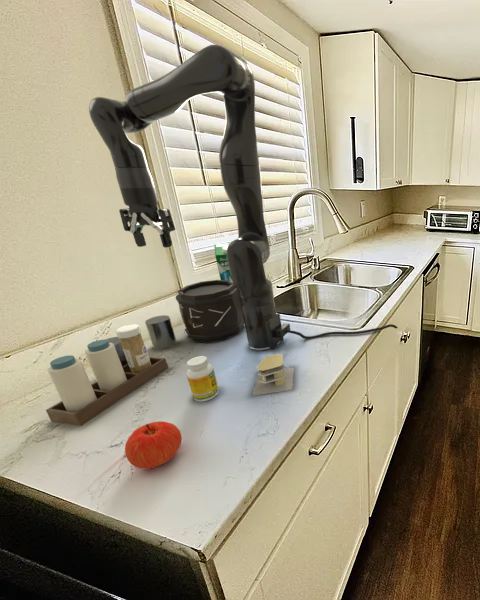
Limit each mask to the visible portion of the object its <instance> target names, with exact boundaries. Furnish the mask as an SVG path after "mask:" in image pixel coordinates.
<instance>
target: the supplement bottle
mask: <svg viewBox="0 0 480 600" xmlns="http://www.w3.org/2000/svg"><path fill="white" fill-rule="evenodd" d="M186 364H187V369H188V370H187V371H186V378H187V381H188V384H189V388H190V391H191V395H192V398H193V400H194V401H195V402H199V403H202V402H207V401H209V400H212V399H214V398H215V397H216V396H217V395H218V394H219V391H220V389H219V386H218V381H217V377H216V374H215V370H214V366H213V364H210V363H209V360H208V357H207V356H205V355H199V356H195V357H193V358H190V359H188V361H187V362H186Z"/></svg>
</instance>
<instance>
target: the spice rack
mask: <svg viewBox="0 0 480 600" xmlns="http://www.w3.org/2000/svg"><path fill="white" fill-rule="evenodd" d="M149 358H150V362H151V365H152V366H150V367H149V368H147V369H145V370H144V371H142V372H140V373H132V372H131V369H130V367H129V365H128V364H126V365H124V366H122V367H123V370H124V373H125V375H126V378H127V381H126V382H124V383H123V384H121V385H119V386H118V387H116V388H114V389H113V390H111V391H106V390H100V387H99V385H98V382H97V380H96V381H95V382H92V383H91V385H92V388H93V390H94V392H95V395H96V397H97V400H95V401H93V402H92V403H90V404H89V405H87V406H85V407H84V408H82V409H80V410H79V411H77V412H71V411H67V410H66V408H65V406H64V404H63V402H62V400H61V401H59V402H57V403H56V404H53V405H52V406H50V407H48V408H47V409H45V412H46V414H47V416H48V418H49V420H50V422H52V423H56V424H65V425H71V426H77V427H82V426H83V425H85V424H87V423H88V422H89V421H91V420H92V419H94V418H96V417H97V416H98V415H100V414H101V413H103V412H105V411H106V410H107V409H109V408H111V407H112V406H114V405H116V403H119V402H120V401H122V400H123V399H124V398H125V397H126V398H127V396H129V395H130V394H133V392H135V391H136V390H138V389H139V388H141V387H142V386H144V385H146V384H147V383H149V382H150V381H151V380H153V379H154V378H156V377H157V376H159V375H161V374H162V373H163V372H165V371H167V370H168V369H169V365H168V362H167V360H166V357H156V356H155V357H154V356H149Z"/></svg>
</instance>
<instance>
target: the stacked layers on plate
mask: <svg viewBox="0 0 480 600" xmlns="http://www.w3.org/2000/svg"><path fill="white" fill-rule="evenodd" d="M256 369H257V370H258V372H257V378H256V381H255V385H254V388H253V392H252V397H254V396H260V395H261V396H262V395H266V394H273V393H278V392H285V391H292V390H293V384H294V383H293V382H294V369H295V368H294V367H288V368H285V364H284V358H283V354H282V353H279V354H278V353H277V354H269V355H265V356H264V358H263V359H262V360H261V362H259V364H258V365H257V367H256Z"/></svg>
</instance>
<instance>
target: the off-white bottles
mask: <svg viewBox="0 0 480 600" xmlns="http://www.w3.org/2000/svg"><path fill="white" fill-rule="evenodd" d="M86 347H87V349H85V351H84V353H85V357H86V358H87V360H88V363H89V366H90V368H91V371H92V372H93V375H94V378H95V380H96V381H97V382H98V385H99V387H100V390H106V391H111V390H113V389H114V388H116V387H118V386H119V385H121V384H123V383H124V382H126V381H127V378H126V375H125V373H124V370H123V367H122V365H121V362H120V360H119V357H118V354H117V352H116V349H115V346H114V344H113V343H109V342H108V340H105V339H99V340H95V341H92V342H89V343H88V344H87V346H86ZM49 365H50V366H48V368H47V372H48V374H49V376H50V379H51V382H52V383H53V384H54V388H55V389H56V392H57V393H58V396H59V398H60V400H61V401H62V402H63V404H64V406H65V408H66V410H67V411H71V412H77V411H79V410H80V409H82V408H84V407H85V406H87V405H89V404H90V403H92V402H93V401H95V400H97V397H96V395H95V392H94V390H93V388H92V385H91V384H92V383H91V381H90V379H89V376H88V373H87V372H86V369H85V367H84V364H83V362H82V360H81V359H80V358H75V356H74V355H71V354H69V355H63V356H60V357H57V358H55V359H53V360H51V361H50V362H49Z"/></svg>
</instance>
